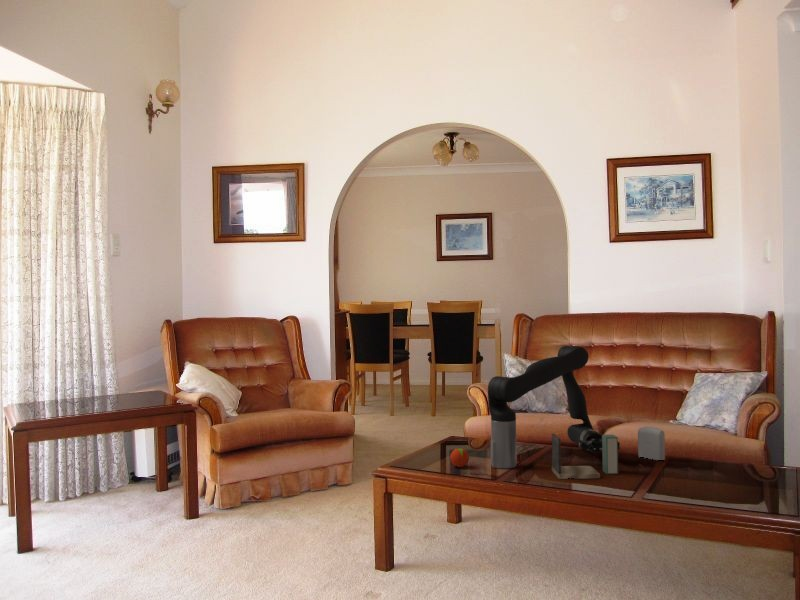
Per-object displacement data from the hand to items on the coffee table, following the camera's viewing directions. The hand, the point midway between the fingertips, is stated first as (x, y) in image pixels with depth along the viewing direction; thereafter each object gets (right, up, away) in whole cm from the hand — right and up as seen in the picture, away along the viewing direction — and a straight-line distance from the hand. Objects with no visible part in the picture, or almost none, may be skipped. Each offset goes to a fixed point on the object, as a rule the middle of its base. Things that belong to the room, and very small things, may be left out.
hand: (604, 448), depth 253 cm
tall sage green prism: (0, -7, -6) cm, 9 cm away
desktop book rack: (-13, -7, -8) cm, 17 cm away
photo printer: (+22, -7, +14) cm, 27 cm away
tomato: (-52, -8, +5) cm, 53 cm away
